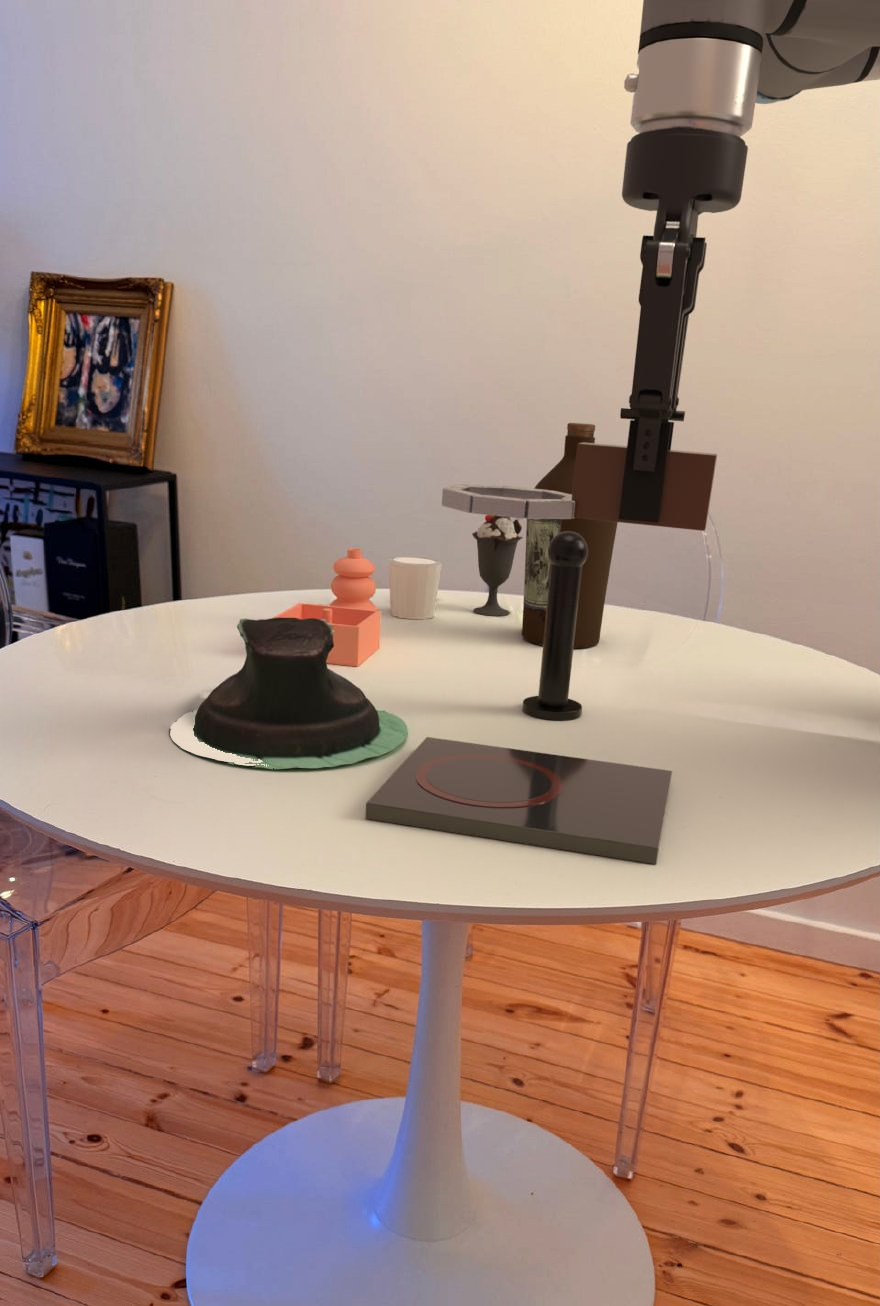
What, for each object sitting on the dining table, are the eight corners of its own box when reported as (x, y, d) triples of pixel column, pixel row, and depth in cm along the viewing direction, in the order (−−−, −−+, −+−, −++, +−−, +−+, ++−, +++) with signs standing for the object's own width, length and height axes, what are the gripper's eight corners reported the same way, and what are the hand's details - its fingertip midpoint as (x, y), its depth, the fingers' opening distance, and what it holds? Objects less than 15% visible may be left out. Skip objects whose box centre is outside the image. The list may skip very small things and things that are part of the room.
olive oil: (572, 628, 138) (593, 422, 130) (621, 647, 130) (647, 428, 121) (500, 632, 134) (517, 418, 125) (546, 652, 125) (567, 424, 116)
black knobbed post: (584, 707, 104) (604, 530, 99) (577, 723, 99) (597, 537, 93) (527, 700, 106) (543, 524, 100) (517, 715, 101) (533, 531, 95)
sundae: (463, 614, 142) (471, 497, 137) (470, 605, 149) (479, 492, 143) (512, 619, 141) (523, 501, 136) (518, 609, 148) (528, 496, 142)
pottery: (357, 666, 114) (360, 572, 110) (271, 656, 115) (272, 564, 112) (398, 631, 130) (401, 549, 127) (322, 623, 132) (324, 542, 129)
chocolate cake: (142, 693, 97) (350, 684, 106) (187, 858, 86) (414, 833, 95) (161, 558, 86) (390, 561, 95) (214, 727, 76) (466, 713, 85)
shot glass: (416, 622, 136) (419, 566, 134) (375, 613, 140) (377, 558, 137) (449, 615, 141) (452, 561, 139) (408, 606, 145) (411, 553, 143)
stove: (670, 785, 85) (672, 769, 85) (656, 864, 71) (658, 846, 70) (425, 750, 90) (426, 735, 89) (365, 818, 75) (365, 801, 75)
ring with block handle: (708, 522, 80) (718, 451, 78) (702, 537, 71) (714, 457, 69) (463, 497, 84) (468, 429, 82) (430, 508, 75) (435, 433, 73)
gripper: (639, 159, 76) (600, 503, 84) (615, 105, 62) (571, 524, 70) (749, 161, 74) (699, 512, 82) (749, 106, 60) (689, 535, 69)
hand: (640, 517), depth 76 cm, fingers closed on ring with block handle, 2 cm apart
